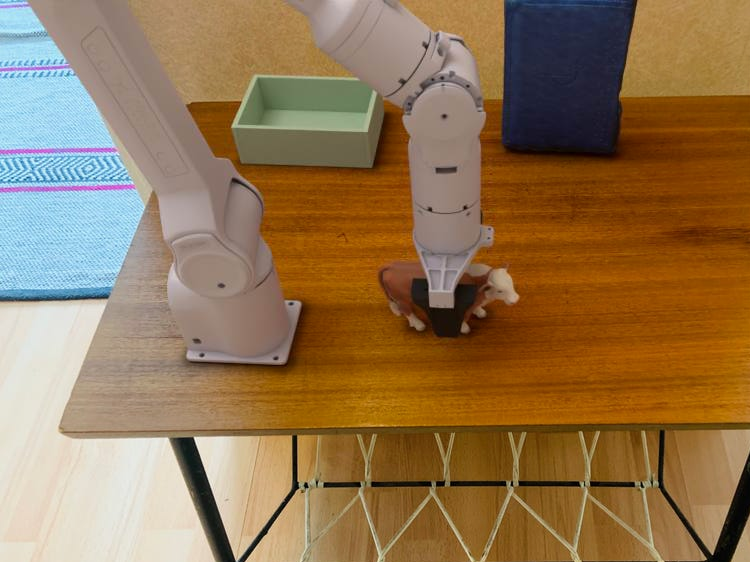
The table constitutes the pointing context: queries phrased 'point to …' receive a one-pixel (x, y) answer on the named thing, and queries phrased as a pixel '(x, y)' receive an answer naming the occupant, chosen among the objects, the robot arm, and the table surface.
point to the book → (564, 73)
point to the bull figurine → (487, 279)
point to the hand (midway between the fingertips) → (450, 304)
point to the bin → (308, 122)
